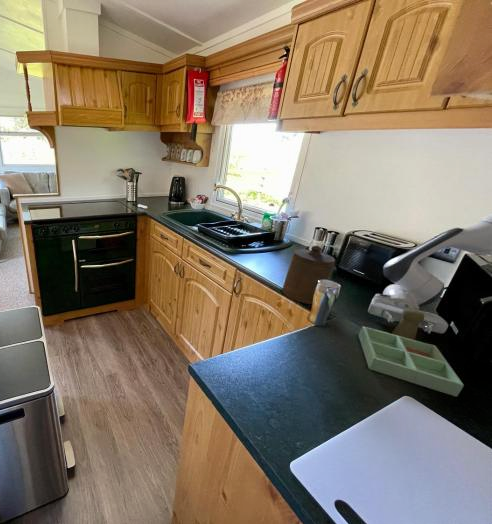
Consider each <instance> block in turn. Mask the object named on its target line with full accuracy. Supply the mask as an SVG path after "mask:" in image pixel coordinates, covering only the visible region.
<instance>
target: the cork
mask: <svg viewBox="0 0 492 524" xmlns="http://www.w3.org/2000/svg"><path fill="white" fill-rule="evenodd" d="M420 311H421V310H420ZM420 311H418V310H414V309H405V310H404V311H403V312H402V316H403V318H402V319H401V320H400V322H398V323H397V324H396V326H395V328H394V329H393V330H392V331H391V333H390V334H394V335H397V336H401V337H405V338H408V339H412V340H416V336H417V332H418V330H419V329H418V328H419V327H418V326H419V323H421V322H422V321H423V320H424V314H423V313H421V312H420Z"/></svg>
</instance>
